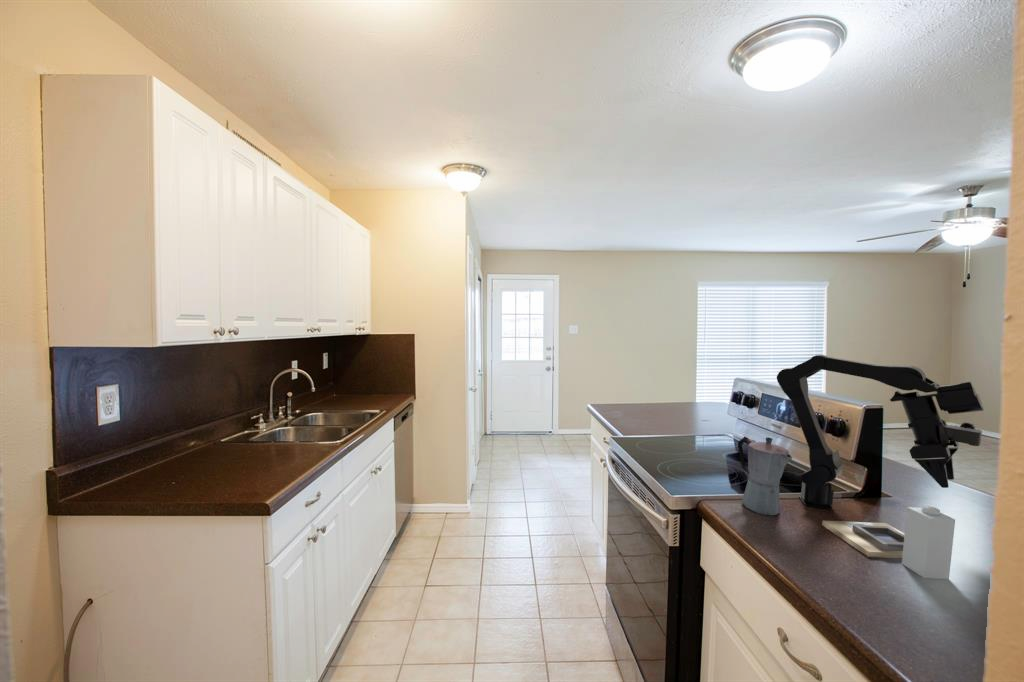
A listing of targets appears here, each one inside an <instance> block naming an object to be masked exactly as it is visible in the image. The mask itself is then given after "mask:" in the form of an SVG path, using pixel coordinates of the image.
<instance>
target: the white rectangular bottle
mask: <svg viewBox="0 0 1024 682" xmlns="http://www.w3.org/2000/svg"><path fill="white" fill-rule="evenodd" d="M906 507H907V508H906V515H905V517H906V518H905V527H904V534H905V535H904V545H903V556H902V558H901V565H903V566H905V567H906V568H908V569H909V570H911V571H913V572H914V573H916V574H917V575H919V576H920V577H922V578H924V579H932V580H933V579H938V580H949V579H950V573H951V564H952V554H953V547H954V545H953V544H954V537H955V536H954V535H955V528H956V526H955V525H956V519H955V518H953V517H951V516H948V515H946V514H944V513H942V512H941V510H940V509H938V508H937V507H934V506H929V505H922V506H921V507H914V506H913V507H911V506H909V507H908V506H906Z"/></svg>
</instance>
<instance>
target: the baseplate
mask: <svg viewBox="0 0 1024 682" xmlns="http://www.w3.org/2000/svg"><path fill="white" fill-rule="evenodd" d="M821 526H823V527H824V528H825V529H827V530H829V531H830V532H832V533H833V534H834V535H836V536H837V537H839V538H840V539H842V540H843V541H844V542H846V543H847V544H848V545H850V546H852V547H853V548H854V549H856V550H857V551H859V552H861V554H864V555H865V556H866V557H868V558H887V559H902V556H903V545H904V535H905V532H903V531H901V530H899V529H898V528H895V527H894V526H892V525H890V524H889V523H887V522H871V521H870V522H865V521H847V520H846V521H843V520H822V523H821Z"/></svg>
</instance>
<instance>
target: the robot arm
mask: <svg viewBox="0 0 1024 682" xmlns="http://www.w3.org/2000/svg"><path fill="white" fill-rule="evenodd" d="M822 370H823V371H828V372H833V373H839V374H842V375H848V376H849V375H850V376H854V377H858V378H859V377H860V378H865V379H869V380H874V381H877V382H880V383H882V384H884V385H887V386H890V387H893V388H895V389H899V390H896V391H895V392H894V394H893V395H892V397H891V398H889V401H890V402H900V401H901V404H902V407H903V409H904V412H905V415H906V417H907V420H908V423H907V426H908V428H909V429H911V431H912V434H913V437H914V440H913V443H914V445H913V446H912V447H910V449H909V450H908V451H909V453H910V456H911V459H913V460H914V461H915V462H916V463H918V465H919V466H920V467H921V468H923V469H924V470H925V472H926V473H927V474H929V476H930V477H932V479H933V481H934V480H935V482H936V483H937V484H938V485H939V486H940V487H941V488H942V489H943V488H944V489H947V488H949V486H950V485H949V481H950V480H951V481H953V480H955V476H954V475H955V473H954V462H953V460H954V459H953V456H954V454H955V453H956V452H957V451H958V450H959V446H960V444H959V443H961V444H965V445H967V444H968V445H969V446H972V447H973V446H974V447H980V445H981V443H982V441H981V440H982V432H983V431H982V430H981V429H978V428H976V427H975V425H974V424H973V423H970V422H966V421H965V422H963V423H961V424H960V426H958V425H951V424H950V425H949V424H947V423H946V420H945V419H943V418H941V415H940V413H939V411H938V408H939V410H940V411H941V412H942V411H943V412H947V413H948V414H949V415H955V414H963V413H973V412H974V413H976V412H984V410H985V409H984V406H983V403H982V399H981V397H980V396H979V394H978V393H977V392H976V390H975V387H974V386H973V384H972V382H971V381H970V380H969V381H964V382H963V381H962V382H960V383H956V384H948V385H947V384H946V385H940V384H938V383H937V382H934V381H933V380H931V379H930V378H928V377H927V376H926V374H925V372H924V371H923V369H921V368H920V367H916V366H913V365H895V364H892V365H891V364H890V365H889V364H887V365H884V364H872V363H868V362H861V361H856V360H850V359H845V358H838V357H833V356H828V355H824V354H817V355H814V356H812V357H811V358H809V359H807V360H806V361H804V362H801V363H800V364H798V365H795V366H794V367H788V368H783V369H781V370H780V371H778V373H777V375H776V381H777V383H778V385H779V386H780V388H781V390H782V392H783V393H784V394H785V395H786V397H787V398H788V399H789V400H790V402H791V403H792V407H793V409H794V412H795V415H796V417H797V419H798V422H799V425H800V428H801V430H802V433H803V436H804V439H805V441H806V445H807V446H808V448H809V449H808V451H809V452H808V453H809V455H808V457H809V458H808V459H809V467H810V468H809V469H808V470H806V471H805V472H803V473H802V474H801V475H800V478H801V491H800V492H801V493H800V495H801V497H800V498H799V499H800V500H801V502H802V503H803V504H804V505H805V506H807V507H814V508H819V509H827V510H833V509H834V508H833V504H834V502H833V501H834V490H833V486H832V484H831V482H833V481H834V480H836V478H838V477H839V476H841V474H842V472H843V466H845V463H844V462H843V461H842V459H841V457H840V452H839V450H832V449H831V448H830V447H829V445H828V444H827V441H826V438H825V436H824V434H823V431H822V428H821V426H820V424H819V421H818V418H817V416H816V413H815V411H814V408H813V405H812V403H811V399H810V398H809V383H808V378H810V377H812V376H814V375H815V374H818V373H819V372H820V371H822ZM900 390H901V391H911V392H901V391H900ZM914 390H915V391H914ZM919 392H923V393H925V394H920V393H919ZM934 392H935V393H934ZM933 397H935V399H936V402H937V405H938V408H937V406H936V402H935V400H934V398H933ZM951 446H953V447H951Z"/></svg>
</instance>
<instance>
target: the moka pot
mask: <svg viewBox="0 0 1024 682" xmlns="http://www.w3.org/2000/svg"><path fill="white" fill-rule="evenodd" d="M743 444H746V446H747V466H746V462H745V455H744V448H743ZM737 448H738V452H739V458H740V464H741V468H742V469H743V470H744V471H746V472H749V473H748V477H749V478H748V479H747V482H746V486H745V489H744V493H743V495H742V496H743V497H742V501H741V504H742V505H743V506H744V507H745V508H746V509H748V510H749V511H752V512H753V513H757V514H760V515H765V516H776V515H778V514H779V513H780V510H781V507H780V505H781V503H780V484H781V483H780V482H781V478H782V476H783V474H784V471H785V467H786V465H787V464H788V463H789V461H790V460H793V455H791V454H790V451H789V449H787V448H785V447H783V446H781V445H779V444H774V443H773V438H771V437H770V436H769V437H765V441H756V440H755V439H750V438H749V437H746V436H743V437H742V438H741V439H740V440H739V441H738V443H737Z"/></svg>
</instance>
